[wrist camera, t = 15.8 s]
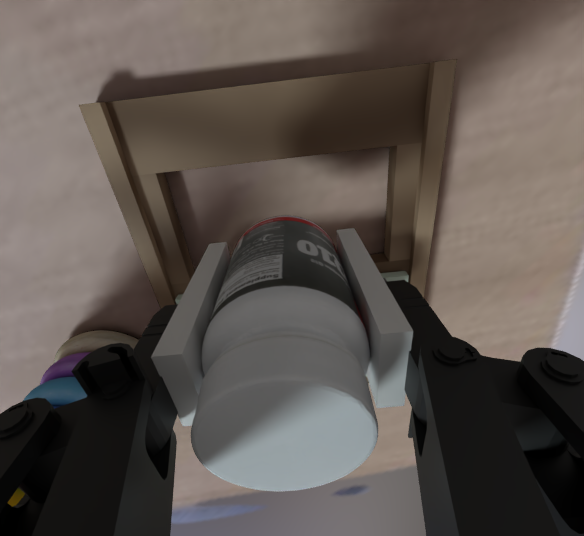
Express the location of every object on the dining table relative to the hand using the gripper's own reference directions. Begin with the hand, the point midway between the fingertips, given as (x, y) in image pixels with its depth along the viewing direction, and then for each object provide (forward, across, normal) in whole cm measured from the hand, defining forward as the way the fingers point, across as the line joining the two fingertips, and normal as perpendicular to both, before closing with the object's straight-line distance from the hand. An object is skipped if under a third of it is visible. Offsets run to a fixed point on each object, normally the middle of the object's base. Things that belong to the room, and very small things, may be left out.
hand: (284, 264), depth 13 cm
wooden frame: (+6, 0, -4) cm, 7 cm away
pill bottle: (+1, 0, 0) cm, 1 cm away
